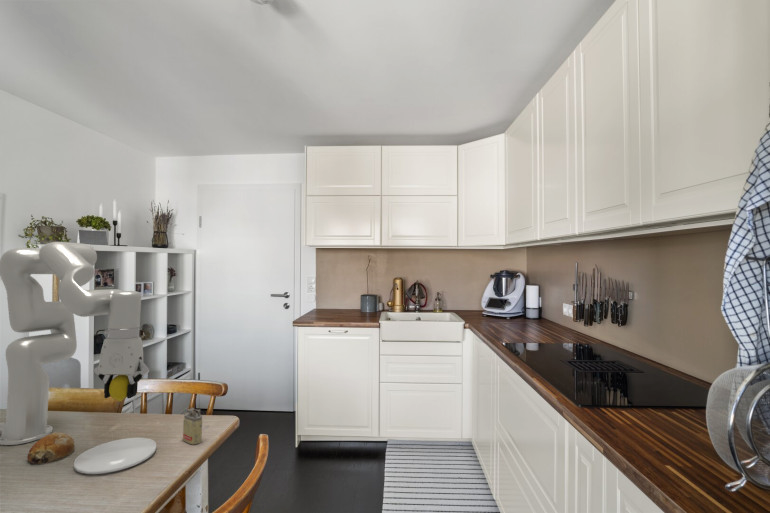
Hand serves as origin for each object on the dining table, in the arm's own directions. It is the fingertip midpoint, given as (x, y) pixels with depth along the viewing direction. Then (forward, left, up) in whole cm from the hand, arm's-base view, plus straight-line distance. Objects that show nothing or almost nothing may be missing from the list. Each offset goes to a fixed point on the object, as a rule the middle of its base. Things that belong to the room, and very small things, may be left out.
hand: (120, 396), depth 106 cm
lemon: (0, 0, -2) cm, 2 cm away
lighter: (+16, +11, -18) cm, 26 cm away
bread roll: (-19, +1, -18) cm, 26 cm away
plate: (0, 0, -17) cm, 17 cm away
